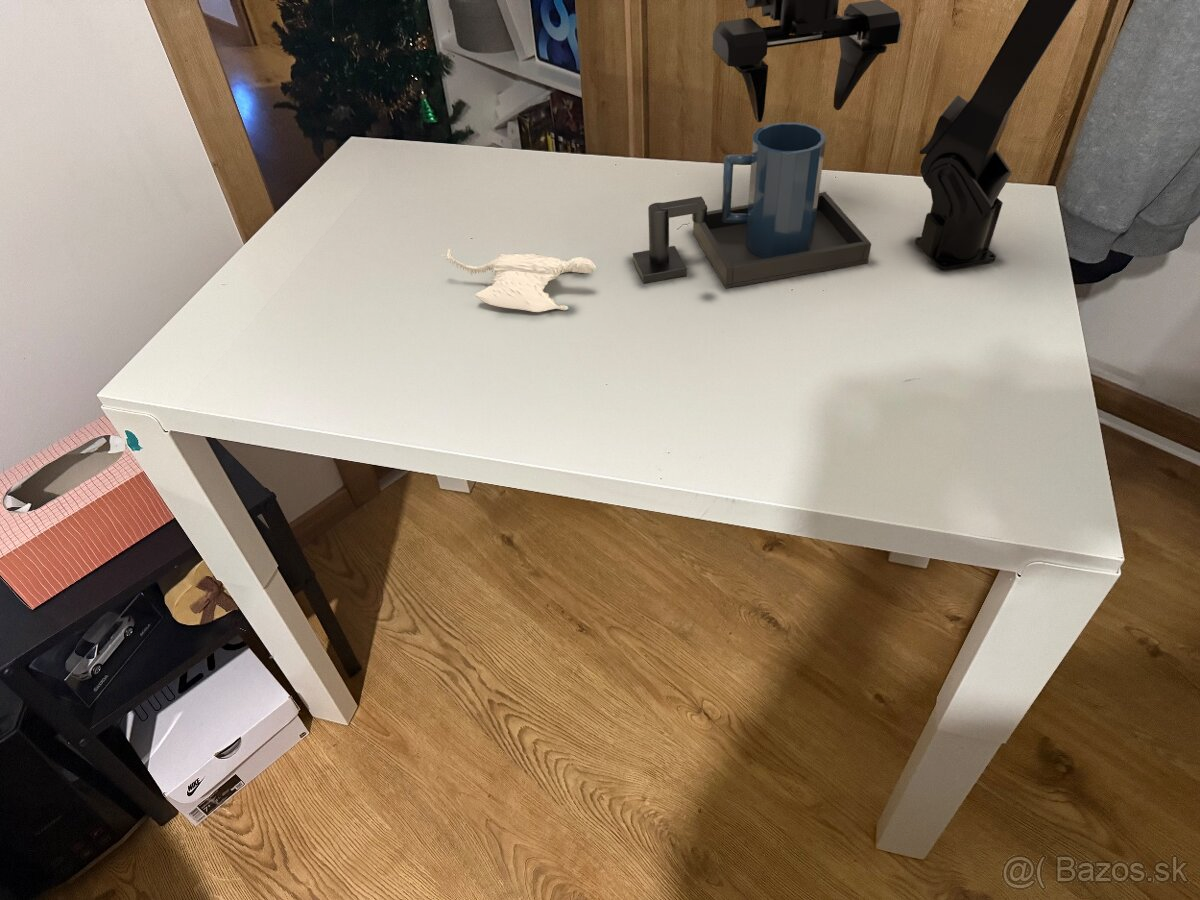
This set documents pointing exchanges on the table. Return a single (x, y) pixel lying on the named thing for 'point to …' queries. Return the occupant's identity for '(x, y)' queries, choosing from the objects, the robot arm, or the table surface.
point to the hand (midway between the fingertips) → (797, 114)
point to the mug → (779, 188)
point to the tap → (666, 239)
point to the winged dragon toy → (524, 279)
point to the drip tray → (829, 250)
